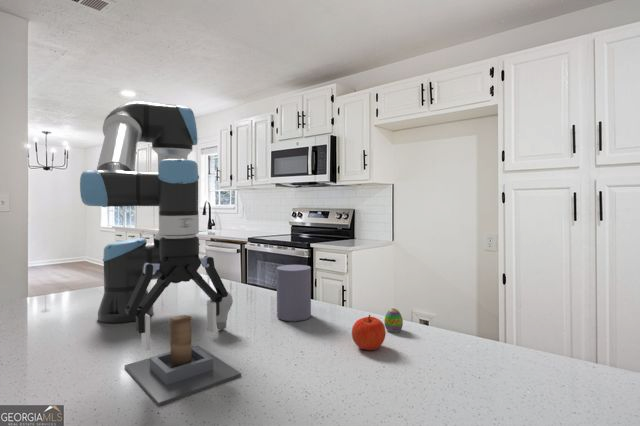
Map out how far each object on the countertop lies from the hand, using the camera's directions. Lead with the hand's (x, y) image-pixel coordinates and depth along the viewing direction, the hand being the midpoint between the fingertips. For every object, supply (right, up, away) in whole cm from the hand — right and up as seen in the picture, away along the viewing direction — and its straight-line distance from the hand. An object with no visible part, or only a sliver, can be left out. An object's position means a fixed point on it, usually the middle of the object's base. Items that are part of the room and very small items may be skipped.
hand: (180, 339), depth 76 cm
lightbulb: (+2, -6, +25) cm, 25 cm away
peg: (0, -6, 0) cm, 6 cm away
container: (+21, -6, +37) cm, 42 cm away
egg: (+49, -6, +24) cm, 55 cm away
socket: (0, -7, 0) cm, 7 cm away
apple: (+40, -6, +13) cm, 43 cm away
